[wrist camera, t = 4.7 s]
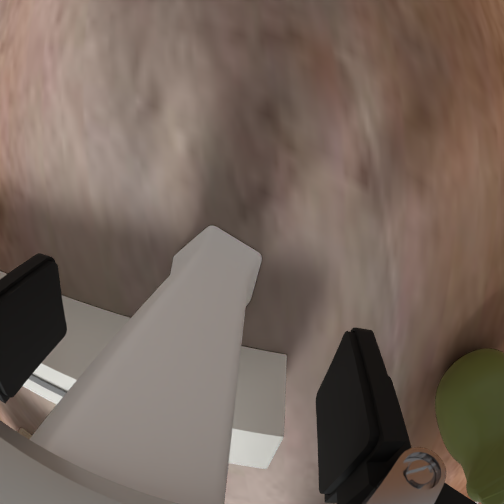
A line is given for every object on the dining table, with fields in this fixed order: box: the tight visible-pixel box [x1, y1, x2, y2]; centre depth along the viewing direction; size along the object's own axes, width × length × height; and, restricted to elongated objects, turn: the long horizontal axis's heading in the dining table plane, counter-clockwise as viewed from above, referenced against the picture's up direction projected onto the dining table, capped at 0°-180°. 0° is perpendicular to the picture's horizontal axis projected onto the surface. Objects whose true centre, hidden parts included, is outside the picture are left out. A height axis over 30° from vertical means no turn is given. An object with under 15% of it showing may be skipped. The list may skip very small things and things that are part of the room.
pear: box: [435, 348, 504, 504], centre depth 10 cm, size 6×5×10 cm
